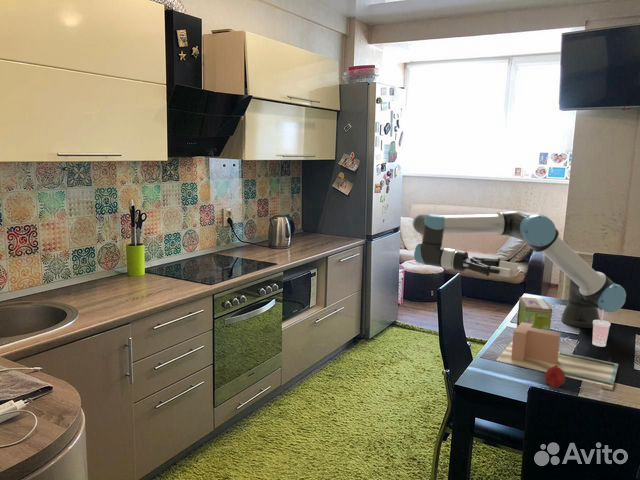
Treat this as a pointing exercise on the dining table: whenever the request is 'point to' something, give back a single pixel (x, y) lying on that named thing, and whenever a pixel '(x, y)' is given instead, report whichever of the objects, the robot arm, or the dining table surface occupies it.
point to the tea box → (534, 313)
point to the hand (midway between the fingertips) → (513, 270)
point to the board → (570, 367)
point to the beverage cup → (600, 332)
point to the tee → (535, 344)
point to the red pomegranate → (555, 377)
